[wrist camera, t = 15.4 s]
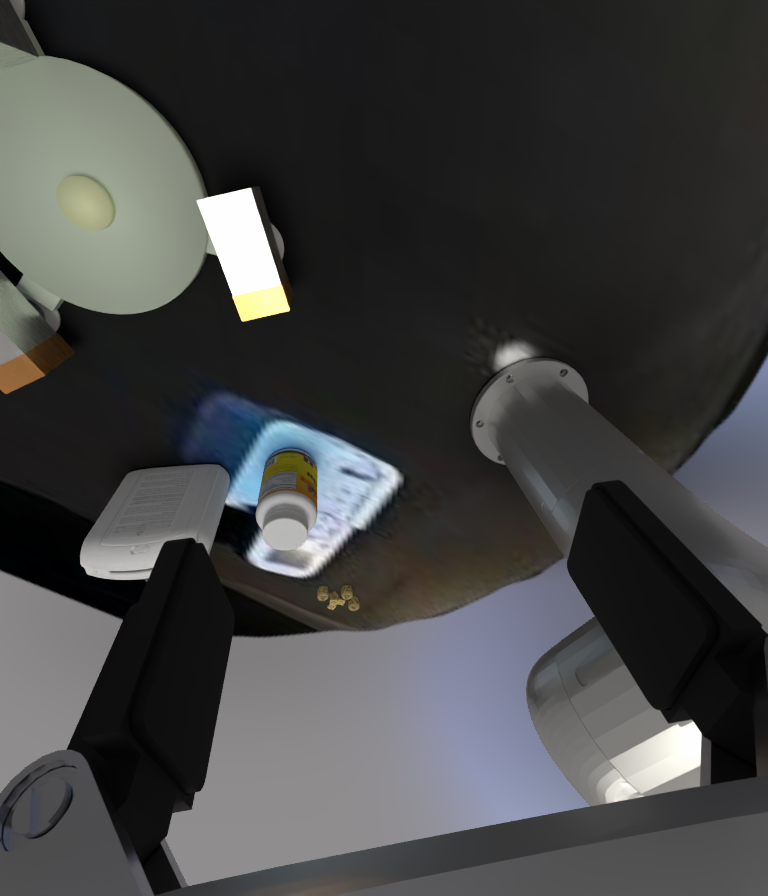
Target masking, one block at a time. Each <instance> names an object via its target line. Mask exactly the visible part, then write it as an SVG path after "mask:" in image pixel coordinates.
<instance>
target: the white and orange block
mask: <svg viewBox="0 0 768 896" xmlns="http://www.w3.org/2000/svg"><path fill="white" fill-rule="evenodd" d="M197 203H198V205H199V208H200V211H201V213H202V216H203V218H204V221H205V224H206V226H207V229H208V231H209V234H210V237H211V239H212V242H213V244H214V247H215V250H216V252H217V255H218V257H219V260H220V263H221V265H222V268H223V270H224V273H225V276H226V278H227V281H228V284H229V286H230V289H231V291H232V294H233V299H234V302H235V304H236V307H237V309H238V312H239V315H240V317H241V320H242V322H243V321H247V320H251V319H256V318H260V317H264V316H269V315H273V314H277V313H282V312H286V311H290V308H291V303H292V298H293V293H292V290H291V286H290V283H289V280H288V276H287V273H286V272H285V269H284V266H283V262H282V259H281V256H280V253H279V249H278V246H277V243H276V239H275V236H274V233H273V230H272V226H271V223H270V220H269V217H268V213H267V210H266V207H265V203H264V200H263V197H262V194H261V190H260V187H259V186H256V187H252V188H247V189H243V190H239V191H234V192H230V193H226V194H221V195H217V196H212V197H208V198H204V199H200V200H197Z"/></svg>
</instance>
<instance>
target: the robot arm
mask: <svg viewBox="0 0 768 896" xmlns="http://www.w3.org/2000/svg"><path fill="white" fill-rule="evenodd" d="M588 403H589V402H588V390H587V387H586V384H585V382H584V380H583V378H582V377H581V375H580V374H579V373H578V372H577V371H576V370H575V369H573V368H572V367H570V366H569V365H568V364H566V363H564V362H561V361H559V360H556V359H551V358H533V359H528V360H523V361H521V362H518V363H516V364H513V365H511V366H509V367H507V368H506V369H504V370H502V371H501V372H499V373H498V374H497V375H496V376H494V377H493V378H492V379H491V380H490V381H489V382H488V383H487V384H486V385H485V387H484V388H483V389H482V390H481V392H480V394H479V395H478V397H477V398H476V401H475V403H474V405H473V408H472V412H471V416H470V430H471V434H472V437H473V439H474V442H475V444H476V445H477V447H478V448H479V450H480V451H481V452H482V453H483V454H484V455H485V456H486V457H487V458H489V459H491V460H492V461H494V462H497V463H500V464H503V465H506V466H507V467H508V469H509V471H510V472H511V474H512V475H513V477H514V479H515V480H516V482H517V483H518V485H519V486H520V488H521V490H522V491H523V493H524V494H525V496H526V498H527V499H528V501H529V502H530V504H531V505H532V507H533V509H534V510H535V512H536V513H537V515H538V517H539V518H540V520H541V521H542V523H543V524H544V526H545V528H546V529H547V531H548V532H549V534H550V536H551V537H552V539H553V540H554V541H555V543H556V545H557V546H558V548H559V549H560V551H561V552H562V553H563V555H564V556H565V557H566V558H567V559H568V560H567V568H568V572H569V574H570V576H571V578H572V580H573V581H574V583H575V584H576V586H577V588H578V589H579V591H580V593H581V594H582V596H583V597H584V599H585V600H586V602H587V604H588V605H589V607H590V609H591V610H592V612H593V614H594V615H595V617H593V618H592V619H590V620H589V621H588V622H586V623H585V624H583V625H582V626H581V627H579V628H578V629H577V630H575V631H574V632H572V633H571V634H569V635H568V636H567V637H565V638H564V639H562V640H561V641H560V642H559V643H558V644H557V645H555V646H554V647H552V648H551V649H550V650H548V651H547V652H546V653H545V654H544V655H543V656H541V658H540V659H539V660H538V661H537V662H536V664H535V665H534V666H533V668H532V670H531V672H530V674H529V677H528V680H527V686H526V696H527V704H528V709H529V712H530V715H531V719H532V721H533V724H534V726H535V729H536V731H537V732H538V735H539V737H540V739H541V740H542V743H543V744H544V746H545V747H546V749H547V751H548V753H549V754H550V756H551V757H552V759H553V760H554V762H555V763H556V765H557V766H558V767H559V769H560V770H561V771H562V773H563V774H564V775H565V777H566V778H567V779H568V781H569V782H570V783H571V784H572V786H573V787H574V788H575V789H576V790H577V792H578V793H579V794H580V795H581V796H582V797H583V799H584V800H585V801H586V802H587V803H588V804H589V805H590V806H591V807H585V808H581V809H574V810H569V811H564V812H559V813H553V814H548V815H543V816H538V817H533V818H527V819H522V820H517V821H511V822H506V823H501V824H496V825H490V826H485V827H480V828H475V829H470V830H464V831H459V832H454V833H449V834H444V835H439V836H434V837H429V838H423V839H418V840H412V841H408V842H402V843H397V844H392V845H387V846H382V847H377V848H372V849H367V850H361V851H356V852H351V853H346V854H342V855H336V856H331V857H327V858H321V859H316V860H311V861H306V862H300V863H295V864H290V865H285V866H280V867H275V868H271V869H266V870H262V871H257V872H252V873H248V874H243V875H239V876H234V877H230V878H225V879H220V880H216V881H211V882H207V883H202V884H197V885H192V886H187V883H186V881H185V879H184V877H183V875H182V873H181V871H180V869H179V867H178V865H177V863H176V861H175V858H174V856H173V854H172V852H171V850H170V848H169V846H168V844H167V842H166V840H165V837H166V836H167V834H168V829H169V824H170V820H171V816H172V813H175V812H180V811H186V810H191V809H192V805H193V800H194V794H195V792H199V791H201V789H202V787H203V785H204V783H205V778H206V773H207V767H208V763H209V757H210V752H211V747H212V741H213V736H214V731H215V726H216V720H217V715H218V709H219V704H220V699H221V693H222V688H223V683H224V678H225V672H226V667H227V662H228V656H229V651H230V645H231V641H232V635H233V630H234V613H233V610H232V607H231V605H230V603H229V601H228V598H227V596H226V594H225V591H224V589H223V587H222V584H221V582H220V580H219V578H218V575H217V573H216V571H215V568H214V566H213V564H212V562H211V559H210V557H209V555H208V552H207V550H206V548H205V546H204V544H203V543H197V542H196V541H195V539H194V538H184V539H177V540H170V541H166V542H165V543H164V544H163V546H162V548H161V550H160V552H159V555H158V557H157V560H156V562H155V564H154V567H153V569H152V571H151V574H150V576H149V579H148V581H147V583H146V586H145V588H144V590H143V593H142V595H141V598H140V600H139V602H138V603H137V604H134V605H133V606H132V607H131V608H130V609H129V610H128V612H127V613H126V615H125V617H124V620H123V622H122V624H121V626H120V629H119V631H118V633H117V636H116V638H115V640H114V643H113V645H112V647H111V649H110V652H109V654H108V656H107V658H106V661H105V663H104V665H103V668H102V670H101V672H100V674H99V677H98V679H97V682H96V684H95V686H94V688H93V691H92V693H91V695H90V697H89V700H88V702H87V704H86V706H85V709H84V711H83V714H82V716H81V718H80V720H79V723H78V725H77V727H76V729H75V732H74V734H73V736H72V738H71V741H70V743H69V745H68V748H67V750H61V751H55V752H53V753H50V754H48V755H45V756H42V757H41V758H39V759H38V760H36V761H35V762H33V763H31V764H30V765H28V766H27V767H25V769H23V770H22V771H21V772H20V773H19V774H18V775H17V776H15V777H14V778H13V779H12V780H11V781H10V783H9V784H8V785H7V786H6V787H5V788H4V790H3V791H2V792H1V793H0V896H768V547H766V546H764V545H763V544H761V543H760V542H758V541H757V540H755V539H754V538H752V537H751V536H749V535H748V534H746V533H745V532H743V531H742V530H740V529H739V528H738V527H736V526H735V525H733V524H732V523H730V522H729V521H727V520H726V519H725V518H723V517H722V516H720V515H719V514H717V513H716V512H715V511H714V510H713V509H711V508H710V507H709V506H708V505H706V504H705V503H704V502H702V501H701V500H700V499H699V498H698V497H696V496H695V495H694V494H693V493H692V492H690V491H689V490H688V489H686V488H685V487H684V486H683V485H682V484H680V483H679V482H678V481H677V480H676V479H675V478H673V477H672V476H671V475H670V474H669V473H668V472H667V471H665V470H664V469H663V468H662V467H660V466H659V465H658V464H657V463H656V462H655V461H654V460H652V459H651V458H650V457H649V456H648V455H647V454H646V453H644V452H643V451H642V450H641V449H640V448H639V447H638V446H636V445H635V444H634V443H633V442H632V441H631V440H629V439H628V438H627V437H626V436H625V435H624V434H623V433H621V432H620V431H619V430H618V429H617V428H616V427H614V426H613V425H612V424H611V423H610V422H609V421H608V420H606V419H605V418H604V417H603V416H602V415H601V414H600V413H598V412H597V411H596V410H595V409H594V408H593V407H591V406H590V405H589V404H588Z"/></svg>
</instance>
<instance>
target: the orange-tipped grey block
mask: <svg viewBox="0 0 768 896" xmlns="http://www.w3.org/2000/svg"><path fill="white" fill-rule="evenodd" d="M73 354H75V352H74V351H73V350H72V348H71V347H70V346H69V345H68V344H67V343H66V342H65V341H64V339H63V338H62V337H61V336H60V335H59V334H58V333H56V332H55V331H54V330H53V329H52V327H51V326H50V325H49V324H48V323H47V322H46V321H45V314H44V312H43V310H42V309H41V308H40V307H39V306H38V305H37V304H36V303H35V302H33V301H31V300H28V299H26V298H25V297H24V296H23V295H22V294H21V293H20V292H19V291H18V290H17V288H16V287H15V286H14V285H13V284H12V283H11V282H10V281H9V279H8V278H7V277H6V276H5V275H4V274H3V273H2V272H1V271H0V389H1V390H2V391H3V392H4V393H5V394H7V393H9V392H11V391H14V390H16V389H18V388H20V387H22V386H24V385H26V384H28V383H30V382H32V381H35V380H37V379H39V378H41V377H43V376H45V375H46V374H48V373H49V372H51V371H52V370H53V369H55V368H56V367H57V366H59V365H60V364H61V363H63V362H64V361H65V360H67V359H68V358H69V357H71V356H72V355H73Z"/></svg>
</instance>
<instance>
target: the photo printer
mask: <svg viewBox="0 0 768 896" xmlns="http://www.w3.org/2000/svg"><path fill="white" fill-rule="evenodd" d="M229 484H230V477H229V474H228V473H227V471H226V470H225V469H224V468H222V467H221V466H220V465H213V464H203V465H188V466H174V467H162V468H151V469H142V470H136V471H132V472H130V473H128V474H127V475H126V477H125V478H124V480H123V481H122V483H121V484H120V486H119V488H118V489H117V491H116V492H115V494H114V495H113V497H112V498H111V500H110V502H109V503H108V505H107V506H106V508H105V509H104V511H103V512H102V514H101V515H100V517H99V518H98V520H97V521H96V523H95V525H94V526H93V528H92V529H91V531H90V532H89V534H88V535H87V537H86V538H85V540H84V542H83V545H82V549H81V554H80V563H81V566H82V567H84V568H85V570H86V573H87V574H88V575H91V576H95V577H99V578H105V579H116V580H134V579H146V578H149V576H150V574H151V571H152V569H153V567H154V564H155V562H156V560H157V557H158V555H159V552H160V550H161V548H162V546H163V544H164V543H165V542H166V541H170V540H177V539H184V538H194V539H195V541H196V542H197V543H203V544H204V546H205V548H206V550H207V552H208V555H209V553H210V550H211V547H212V543H213V540H214V537H215V534H216V530H217V527H218V524H219V521H220V517H221V514H222V511H223V507H224V504H225V500H226V497H227V493H228V487H229Z"/></svg>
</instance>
